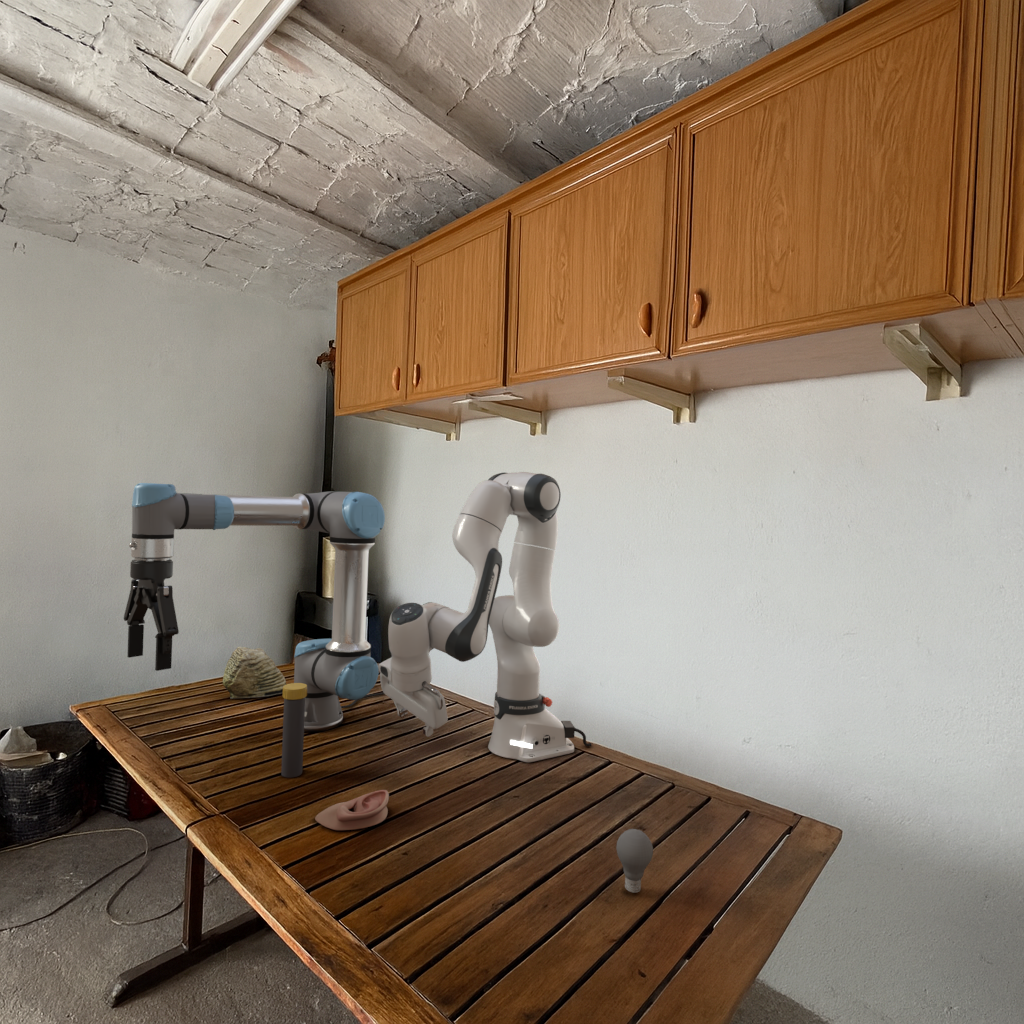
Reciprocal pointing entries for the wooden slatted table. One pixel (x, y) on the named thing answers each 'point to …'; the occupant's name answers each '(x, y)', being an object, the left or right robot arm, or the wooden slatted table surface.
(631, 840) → the light bulb
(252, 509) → the left robot arm
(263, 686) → the fossil
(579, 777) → the wooden slatted table surface
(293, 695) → the lid
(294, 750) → the dark grey slim bottle
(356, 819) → the anatomical model
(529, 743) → the right robot arm
